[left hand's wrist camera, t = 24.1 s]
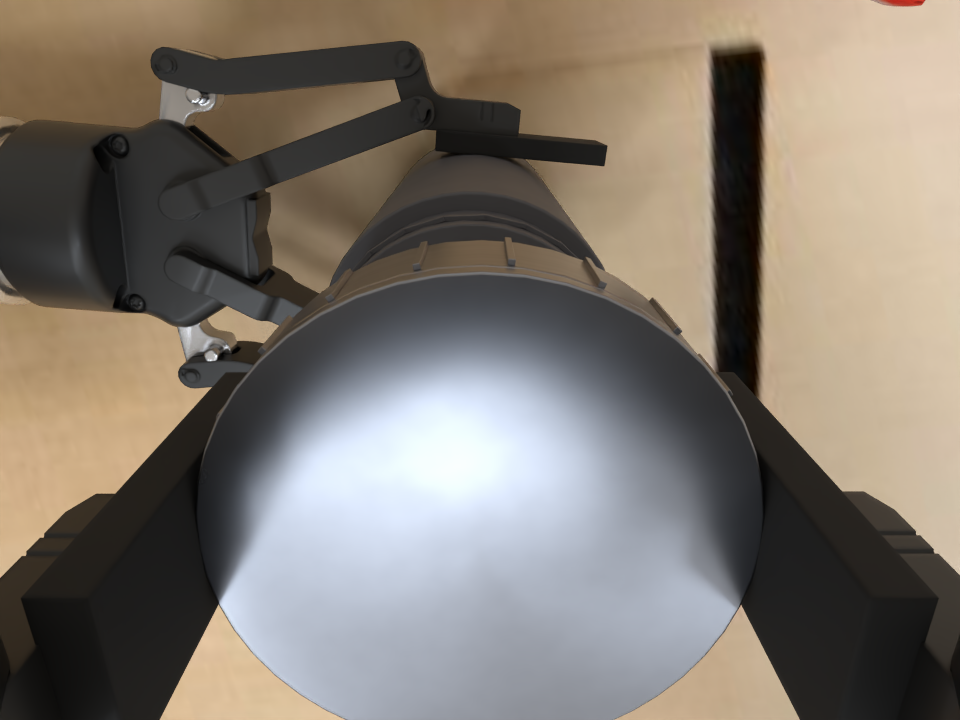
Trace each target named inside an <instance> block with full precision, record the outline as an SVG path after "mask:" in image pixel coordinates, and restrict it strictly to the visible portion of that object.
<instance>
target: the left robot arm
mask: <svg viewBox="0 0 960 720" xmlns="http://www.w3.org/2000/svg"><path fill="white" fill-rule="evenodd" d="M247 373H248V372H226V373H225V374H224V375H223V376H222V377H221V378H220V379H219V380H218V381H217V383H216V384H215V385H214V386H213V387H212V388H211V389H210V390H209V391H208V392H207V394H206V395H205V396H204V397H203V398H202V399H201V400H200V401H199V402H198V403H197V405H196V406H195V407H194V408H193V409H192V410H191V411H190V412H189V413H188V414H187V416H186V417H185V418H184V419H183V420H182V421H181V422H180V423H179V424H178V425H177V427H176V428H175V429H174V430H173V431H172V432H171V433H170V434H169V435H168V436H167V438H166V439H165V440H164V441H163V442H162V443H161V444H160V445H159V446H158V447H157V449H156V450H155V451H154V452H153V453H152V454H151V455H150V456H149V457H148V458H147V460H146V461H145V462H144V463H143V464H142V465H141V466H140V467H139V468H138V469H137V471H136V472H135V473H134V474H133V475H132V476H131V477H130V478H129V479H128V480H127V482H126V483H125V484H124V485H123V486H122V487H121V488H120V489H119V490H118V491H117V493H116V494H95V495H93V496H92V497H90V498H88V499H87V500H85V501H83V502H82V503H80V504H78V505H77V506H75V507H73V508H72V509H70V510H68V511H67V512H65V513H64V514H63V515H62V516H61V517H60V518H59V519H58V520H57V521H56V522H55V523H54V524H53V525H52V526H51V527H50V528H49V529H48V530H47V531H46V532H45V533H44V538H39V539H38V540H37V541H36V542H35V544H34V545H33V546H32V547H31V548H30V549H29V550H28V551H27V554H26V556H22V557H21V558H20V559H19V560H18V561H17V562H16V563H15V564H14V565H13V566H12V567H11V568H10V569H9V570H8V571H7V572H6V573H5V574H4V575H3V576H2V577H1V578H0V720H160V718H161V716H162V714H163V712H164V710H165V708H166V706H167V704H168V702H169V700H170V698H171V696H172V694H173V692H174V690H175V688H176V686H177V685H178V683H179V681H180V679H181V677H182V675H183V673H184V671H185V669H186V667H187V665H188V663H189V661H190V659H191V657H192V655H193V653H194V651H195V649H196V647H197V645H198V643H199V641H200V640H201V638H202V636H203V634H204V632H205V630H206V628H207V626H208V624H209V622H210V620H211V618H212V616H213V614H214V612H215V610H216V608H217V606H218V602H217V599H216V597H215V595H214V592H213V590H212V588H211V585H210V583H209V580H208V578H207V576H206V572H205V568H204V564H203V560H202V555H201V550H200V545H199V539H198V533H197V524H196V497H197V481H198V477H199V472H200V468H201V463H202V458H203V454H204V450H205V447H206V445H207V442H208V440H209V437H210V435H211V432H212V429H213V427H214V424H215V422H216V417H217V414H218V413H219V411H220V410H221V409H222V408H223V407H224V405H225V404H226V402H227V401H228V399H229V397H230V395H231V394H232V392H233V390H234V389H235V387H236V386H237V385H238V384H239V383H240V381H241V380H242V379H243V378H244V377H245V375H246V374H247ZM716 374H717V375H718V376H719V377H720V378H721V379H722V381H723V382H724V383H725V384H726V385H727V387H728V388H729V389H730V390H731V392H732V394H733V395H732V396H731V399H732V401H733V402H734V404H735V406H736V408H737V409H738V411H739V413H740V415H741V416H742V418H743V420H744V422H745V424H746V427H747V430H748V432H749V435H750V437H751V440H752V443H753V445H754V448H755V451H756V454H757V459H758V464H759V468H760V473H761V478H762V483H763V500H764V523H763V531H762V536H761V542H760V548H759V553H758V558H757V563H756V567H755V571H754V574H753V578H752V580H751V583H750V585H749V587H748V589H747V592H746V594H745V596H744V599H743V601H742V603H741V605H742V607H743V609H744V611H745V613H746V615H747V617H748V619H749V621H750V623H751V625H752V627H753V629H754V631H755V633H756V634H757V636H758V638H759V640H760V642H761V644H762V646H763V648H764V650H765V652H766V654H767V656H768V658H769V660H770V662H771V664H772V666H773V668H774V670H775V672H776V674H777V676H778V678H779V679H780V681H781V683H782V685H783V687H784V689H785V691H786V693H787V695H788V697H789V699H790V701H791V703H792V705H793V707H794V709H795V711H796V713H797V715H798V717H799V719H800V720H960V575H959V574H958V573H957V572H956V571H955V570H954V569H953V568H952V567H951V566H950V565H949V564H948V563H947V562H946V561H945V560H944V559H943V558H942V557H941V556H940V555H939V554H934V549H933V548H932V547H931V546H930V545H929V544H928V543H927V542H926V541H925V540H924V539H923V538H922V537H921V536H920V535H916V531H915V530H914V529H913V528H912V527H911V526H910V525H909V524H908V523H907V522H906V521H905V520H904V519H903V518H902V517H901V516H900V515H899V514H898V513H897V512H896V511H895V510H894V509H892V508H891V507H889V506H887V505H886V504H884V503H882V502H880V501H879V500H877V499H875V498H874V497H872V496H870V495H869V494H867V493H865V492H842V491H841V490H840V489H839V488H838V486H837V485H836V484H835V483H834V482H833V481H832V480H831V479H830V478H829V477H828V475H827V474H826V473H825V472H824V471H823V470H822V469H821V468H820V467H819V466H818V464H817V463H816V462H815V461H814V460H813V459H812V458H811V457H810V456H809V455H808V453H807V452H806V451H805V450H804V449H803V448H802V447H801V446H800V445H799V444H798V442H797V441H796V440H795V439H794V438H793V437H792V436H791V435H790V434H789V433H788V431H787V430H786V429H785V428H784V427H783V426H782V425H781V424H780V423H779V422H778V420H777V419H776V418H775V417H774V416H773V415H772V414H771V413H770V412H769V411H768V409H767V408H766V407H765V406H764V405H763V404H762V403H761V402H760V401H759V400H758V398H757V397H756V396H755V395H754V394H753V393H752V392H751V391H750V390H749V389H748V387H747V386H746V385H745V384H744V383H743V382H742V381H741V380H740V379H739V378H738V376H737V375H736V374H735V373H734V372H716Z"/></svg>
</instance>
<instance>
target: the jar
mask: <svg viewBox="0 0 960 720" xmlns="http://www.w3.org/2000/svg"><path fill="white" fill-rule="evenodd" d="M505 237H509V238H511V240H512V242H515V243H521V244H526V245H531V246H536V247H541V248H546V249H551V250H554V251H557V252H560V253H563V254H566V255H569V256H571V257H574V258H577V259H580V260H584V258H585V257H588V258H590V259H591V260H592V262H593V263H594V265H595V266H596V267H598V268H600V269H601V270H603V271H605V269H604V267H603V265H602V264H601V262H600V261H599V259H598V258H597V256H596V255H595V253H594V252H593V250H592V249H591V247H590V246H589V245H588V243H587V242H586V240H585V239H584V238H583V236H582V235H581V233H580V232H579V231H578V229H577V228H576V227H575V225H574V224H573V222H572V221H571V220H570V218H569V217H568V215H567V214H566V213H565V211H564V210H563V209H562V207H561V206H560V204H559V203H558V202H557V200H556V199H555V197H554V196H553V195H552V193H551V192H550V190H549V189H548V188H547V186H546V185H545V184H544V182H543V181H542V179H541V178H540V177H539V175H538V174H537V172H536V171H535V170H534V169H533V168H532V166H531V165H530V164H529V163H528V162H527V161H526V160H524V159H518V158H507V157H496V156H485V155H473V154H462V153H451V152H440V151H435V150H433V151H431V152H430V153H428V154H427V155H425V156H424V157H423V158H421V159H420V160H419V161H418V162H417V163H416V164H415V165H414V166H413V167H412V168H411V170H410V171H409V172H408V173H407V175H406V176H405V177H404V179H403V180H402V181H401V183H400V184H399V185H398V187H397V188H396V189H395V190H394V192H393V193H392V194H391V196H390V197H389V198H388V200H387V201H386V202H385V203H384V205H383V206H382V207H381V209H380V210H379V211H378V213H377V214H376V215H375V217H374V218H373V219H372V220H371V222H370V223H369V224H368V226H367V227H366V228H365V230H364V231H363V232H362V233H361V235H360V236H359V237H358V239H357V240H356V241H355V243H354V244H353V245H352V247H351V248H350V249H349V251H348V252H347V253H346V255H345V256H344V257H343V259H342V261H341V262H340V264H339V266H338V268H337V270H336V272H335V274H334V275H333V278H332V280H331V283H330V286H331V285H333V284H334V283H336V282H337V281H338V280H339V278H340V277H341V276H342V274H343V273H344V272H345V271H346V270H348V269H349V268H350V269H351V270H352V272H354V271H356V270H358V269H360V268H362V267H364V266H366V265H368V264H370V263H373V262H375V261H377V260H379V259H382V258H385V257H388V256H391V255H394V254H397V253H400V252H403V251H406V250H409V249H413V248H418V247H419V246H420V244H421V242H424V241H428V246H429V245H434V244H439V243H444V242H458V241H475V240H487V241H501V242H504V238H505ZM605 272H606V271H605ZM330 286H329V287H330Z"/></svg>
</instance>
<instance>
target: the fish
mask: <svg viewBox="0 0 960 720" xmlns="http://www.w3.org/2000/svg"><path fill="white" fill-rule="evenodd" d="M872 1H875V2H877V3H880V4H882V5H889V6H919V5H922V4H923V3H924V1H925V0H872Z"/></svg>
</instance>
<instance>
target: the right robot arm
mask: <svg viewBox="0 0 960 720" xmlns="http://www.w3.org/2000/svg"><path fill="white" fill-rule="evenodd" d="M151 68H152V70H153V72H154V74H155V75H156V76H157V77H158V78H159V79H160V80H162V89H161V102H160V115H159V119H158V120H154V121H152V122H150V123H148V124H146V125H144V126H142V127H139V128H127V127H116V126H105V125H94V124H83V123H71V122H60V121H49V120H34V121H30V122H24V121H22V120H20V119H17V118H15V117H5V116H0V304H11V305H25V304H28V303H34V304H37V305H39V306H44V307H54V308H66V309H79V310H92V311H105V312H118V313H144V314H149V315H152V316H155V317H157V318H159V319H161V320H163V321H165V322H166V323H168V324H170V325H172V326H176V327H177V328H178V332H179V335H180V339H181V343H182V347H183V350H184V354H185V358H186V362H185V363H184V364H183V365H182V366H181V367H180V369H179V371H178V377H179V379H180V381H181V382H182V383H183V384H184V385H185V386H187V387H190V388H205V387H213V386H214V385H215V384H216V383H217V381H218V380H219V379H220V378H221V377H222V376H223V375H224V374H225V373H226V372H249V370H250V369H251V368H252V367H253V366H254V364H255V363H256V362H257V361H258V360H259V358H260V357H261V356H262V355H261V354H260V353H259V352H258V350H259V349H260V348H261V346H262V345H263V344H264V343H258V342H251V341H236V337H235V335H234V334H233V333H231V332H227V331H222V330H218V329H215V328H214V327H212V326H211V325H210V323H209V322H208V319H207V318H209V317H210V316H212V315H213V314H215V313H217V312H218V311H220V310H221V309H223V308H224V307H226V306H229V307H231V308H233V309H235V310H237V311H239V312H241V313H243V314H245V315H247V316H249V317H251V318H253V319H256V320H259V321H270V322H273V323H275V324H277V325H279V326H280V324H281V323H282V322H283V321H284V320H285V319H286V318H287V316H288V315H290V316H291V317H292V318H293V317H294V316H295V315H296V314H297V313H298V312H300V311H301V310H302V309H303V308H304V307H305V306H306V305H307V304H308V303H309V302H311V301H312V300H313V299H314V298H315V297H316V296H317V295H318V294H319V293H317V292H315V291H313V290H311V289H309V288H307V287H305V286H303V285H301V284H299V283H297V282H296V281H295V280H294V279H293V278H292V276H290V275H289V274H288V273H286V272H284V271H282V270H280V269H278V268H276V267H274V266H272V246H271V242H270V239H269V235H268V232H267V225H268V221H269V216H270V212H271V198H270V193H267V192H266V191H265V188H268V187H270V186H273V185H275V184H278V183H280V182H283V181H286V180H288V179H291V178H294V177H296V176H299V175H302V174H304V173H307V172H310V171H313V170H315V169H318V168H321V167H323V166H326V165H329V164H332V163H334V162H337V161H340V160H342V159H345V158H348V157H350V156H353V155H356V154H359V153H361V152H364V151H367V150H369V149H372V148H375V147H378V146H380V145H383V144H386V143H388V142H391V141H394V140H396V139H399V138H402V137H405V136H407V135H410V134H413V133H415V132H418V131H421V130H423V129H424V130H425V129H427V130H436V147H435V151H440V152H451V153H462V154H473V155H485V156H496V157H507V158H518V159H529V160H540V161H552V162H563V163H574V164H585V165H596V166H604V165H605V158H606V152H607V145H604V144H602V143H600V142H598V141H595V140H584V139H573V138H562V137H551V136H540V135H529V134H518V132H519V122H520V113H521V110H519V109H517V108H515V107H514V106H512V105H510V104H508V103H504V102H493V101H482V100H472V99H461V98H450V97H445V96H442V95H440V94H439V93H438V92H437V91H436V90H435V89H434V88H433V86H432V84H431V81H430V77H429V74H428V70H427V66H426V63H425V57H424V54H423V53H422V51H421V50H420V49H419V48H418V47H416V46H415V45H414V44H412V43H410V42H407V41H397V42H387V43H377V44H368V45H358V46H348V47H339V48H329V49H319V50H310V51H300V52H290V53H280V54H271V55H261V56H251V57H242V58H232V59H223V58H219V57H215V56H212V55H208V54H205V53H201V52H197V51H193V50H185V49H177V48H169V47H161V48H158V49H156V50H155V51H154V53H153V54H152V57H151ZM394 79H395V82H396V85H397V89H398V92H399V96H400V99H401V102H398V103H395V104H393V105H390V106H387V107H385V108H382V109H380V110H377V111H374V112H372V113H369V114H366V115H364V116H361V117H358V118H356V119H353V120H350V121H348V122H345V123H342V124H340V125H337V126H334V127H332V128H329V129H326V130H324V131H321V132H318V133H316V134H313V135H310V136H308V137H305V138H302V139H300V140H297V141H295V142H292V143H289V144H287V145H284V146H281V147H279V148H276V149H273V150H271V151H268V152H265V153H263V154H260V155H257V156H254V157H252V158H249V159H246V160H243V161H241V162H240V161H239V160H237V159H236V158H235V157H234V156H232V155H231V154H230V153H229V152H227V151H226V150H225V149H224V148H222V147H221V146H220V145H219V144H217V143H216V142H215V141H214V140H212V139H211V138H210V137H209V136H207V135H206V134H205V133H204V132H202V131H201V130H200V129H199V128H197V127H196V126H195V125H194V121H195V118H196V117H197V115H198V114H199V113H201V112H206V111H215V110H218V109H219V108H220V107H221V106H222V105H223V103H224V99H225V95H228V94H256V93H266V92H276V91H286V90H295V89H305V88H315V87H325V86H335V85H345V84H354V83H364V82H374V81H384V80H394Z"/></svg>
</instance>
